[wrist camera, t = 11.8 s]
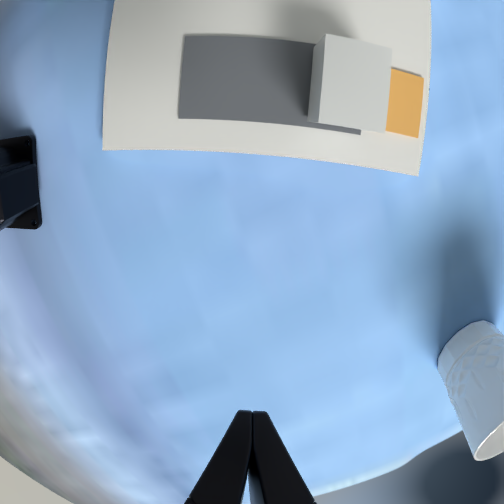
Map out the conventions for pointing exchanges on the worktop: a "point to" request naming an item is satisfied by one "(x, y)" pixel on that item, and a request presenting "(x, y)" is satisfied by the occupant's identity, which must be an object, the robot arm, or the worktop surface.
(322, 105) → the block
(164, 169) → the worktop surface
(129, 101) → the switch unit
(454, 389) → the white cup
